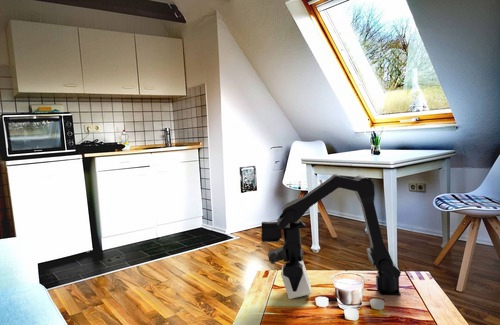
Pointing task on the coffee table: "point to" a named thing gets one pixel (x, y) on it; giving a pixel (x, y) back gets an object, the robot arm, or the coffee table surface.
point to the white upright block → (303, 286)
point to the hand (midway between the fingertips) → (295, 285)
